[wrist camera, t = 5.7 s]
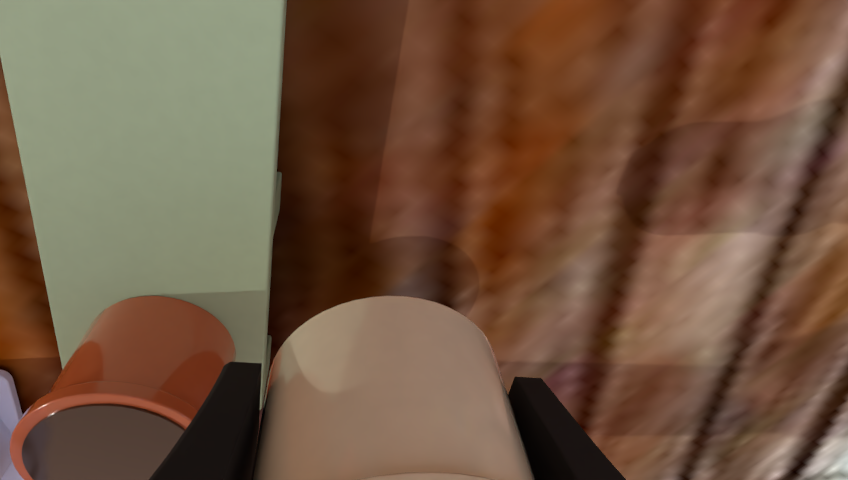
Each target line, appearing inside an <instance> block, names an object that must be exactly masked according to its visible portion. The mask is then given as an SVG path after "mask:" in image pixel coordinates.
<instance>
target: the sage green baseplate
mask: <svg viewBox="0 0 848 480" xmlns="http://www.w3.org/2000/svg"><path fill="white" fill-rule="evenodd" d="M286 5H287V0H0V57H1V62H2V67H3V72H4V77H5V82H6V87H7V92H8V97H9V102H10V107H11V112H12V117H13V122H14V127H15V132H16V138H17V143H18V148H19V153H20V158H21V163H22V168H23V173H24V178H25V183H26V188H27V193H28V198H29V203H30V208H31V213H32V218H33V223H34V228H35V233H36V238H37V243H38V248H39V253H40V258H41V263H42V268H43V273H44V278H45V283H46V288H47V293H48V298H49V303H50V308H51V313H52V319H53V324H54V329H55V334H56V339H57V344H58V349H59V354H60V359H61V364H62V369H64V367H65V365H66V364H67V362H68V361H69V359H70V357H71V356H72V354H73V352H74V351H75V349H76V348H77V346H78V344H79V343H80V341H81V340H82V338H83V336H84V335H85V333H86V332H87V330H88V328H89V327H90V325H91V323H92V322H93V320H94V319H95V318H96V317H97V316H98V314H100V313H101V312H102V311H103V310H104V309H106V308H108V307H109V306H111V305H113V304H115V303H117V302H120V301H122V300H126V299H129V298H134V297H139V296H164V297H171V298H176V299H180V300H183V301H186V302H190V303H192V304H194V305H197V306H199V307H201V308H202V309H204V310H206V311H208V312H209V313H211V314H212V315H213V316H215V317H216V318H217V319H218V320H219V321H220V322H221V323H222V324H223V325H224V326H225V327H226V329H227V330H228V332H229V333H230V335H231V337H232V339H233V341H234V345H235V349H236V361H235V362H247V363H262V370H261V390H260V410H261V408H262V404H263V398H264V392H265V387H266V381H267V375H268V370H269V364H270V353H271V336H270V335H267V332H268V315H269V298H270V281H271V263H272V246H273V235H274V231H275V227H276V223H277V219H278V214H279V210H280V195H281V180H282V173H281V172H277V160H278V143H279V126H280V109H281V91H282V74H283V57H284V40H285V23H286Z"/></svg>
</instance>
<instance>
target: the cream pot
mask: <svg viewBox="0 0 848 480" xmlns="http://www.w3.org/2000/svg"><path fill="white" fill-rule="evenodd" d="M251 480H535V478H534V475H533V472H532V469H531V466H530V463H529V460H528V457H527V453H526V450H525V447H524V444H523V441H522V438H521V435H520V432H519V429H518V425H517V422H516V419H515V416H514V413H513V410H512V407H511V404H510V400H509V397H508V394H507V391H506V388H505V385H504V382H503V379H502V376H501V372H500V369H499V366H498V363H497V360H496V357H495V354H494V351H493V349H492V347H491V345H490V342H489V341H488V339H487V338H486V336H485V335H484V334H483V332H482V331H481V330H480V329H479V328H478V327H477V326H476V325H475V324H474V323H473V322H472V321H470V320H469V319H468V318H466V317H465V316H463V315H462V314H461V313H459V312H457V311H455V310H453V309H451V308H449V307H447V306H444V305H442V304H439V303H437V302H433V301H429V300H425V299H421V298H415V297H408V296H376V297H368V298H362V299H357V300H353V301H349V302H346V303H343V304H339V305H337V306H334V307H332V308H330V309H327V310H325V311H323V312H321V313H319V314H318V315H316V316H314V317H312V318H311V319H309V320H308V321H306V322H305V323H304V324H302V325H301V326H300V327H298V328H297V329H296V330H295V331H294V332H293V333H292V334H291V335H290V336H289V337H288V338H287V340H286V341H285V342H284V343H283V345H282V346H281V347H280V349H279V351H278V352H277V354H276V356H275V358H274V360H273V363H272V366H271V369H270V373H269V378H268V384H267V390H266V395H265V401H264V407H263V413H262V418H261V424H260V430H259V435H258V441H257V447H256V453H255V458H254V464H253V470H252V475H251Z"/></svg>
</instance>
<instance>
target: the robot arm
mask: <svg viewBox="0 0 848 480" xmlns="http://www.w3.org/2000/svg"><path fill="white" fill-rule="evenodd" d="M261 370H262V363H247V362H229V363H227V364H226V365H224V367H223V369H222V371H221V373H220V375H219V377H218V379H217V380H216V382H215V384H214V386H213V388H212V389H211V391H210V393H209V394H208V396H207V398H206V399H205V401H204V403H203V404H202V406H201V407H200V409H199V410H198V412H197V414H196V415H195V417H194V418H193V420H192V421H191V423H190V424H189V425H188V427H187V428H186V430H185V431H184V433H183V434H182V435H181V437H180V438H179V440H178V441H177V443H176V444H175V445H174V447H173V448H172V450H171V451H170V453H169V454H168V455H167V457H166V458H165V459H164V461H163V462H162V463H161V464H160V466H159V467H158V468H157V470H156V471H155V472H154V473H153V475H152V476H151V477H150V479H149V480H251V475H252V470H253V464H254V458H255V452H256V445H257V438H258V431H259V410H260V390H261ZM508 397H509V400H510V404H511V407H512V410H513V413H514V416H515V419H516V422H517V425H518V429H519V432H520V435H521V438H522V441H523V444H524V447H525V450H526V453H527V457H528V460H529V463H530V466H531V469H532V472H533V475H534V478H535V480H626V479H625V478H624V477H623V476H622V475H621V473H620V472H619V471H618V470H617V469H616V468H615V467H614V466H613V465H612V463H611V462H610V461H609V460H608V459H607V458H606V456H605V455H604V454H603V453H602V452H601V451H600V449H599V448H598V447H597V446H596V445H595V444H594V442H593V441H592V440H591V439H590V438H589V436H588V435H587V434H586V433H585V432H584V430H583V429H582V428H581V427H580V425H579V424H578V423H577V422H576V421H575V419H574V418H573V417H572V416H571V414H570V413H569V412H568V411H567V409H566V408H565V407H564V406H563V405H562V403H561V402H560V401H559V400H558V398H557V397H556V396H555V395H554V393H553V392H552V391H551V390H550V388H549V387H548V386H547V385H546V384H545V382H544V381H543V380H542V379H541V378H526V377H515V378H514V381H513V383H512V386H511V389H510V391H509V394H508ZM22 416H23V414H22V411H21V407H20V403H19V399H18V395H17V392H16V388H15V384H14V380H13V377H12V376H11V374H10V373H8V372H7V371H5V370H2V369H0V480H24V479H23V478H22V477H21V476H20V475H19V473H18V472H17V470H16V469H15V467H14V465H13V462H12V460H11V456H10V439H11V435H12V432H13V430H14V429H15V427H16V425H17V423H18V422H19V420H20V419H21V417H22Z"/></svg>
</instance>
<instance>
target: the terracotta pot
mask: <svg viewBox="0 0 848 480" xmlns="http://www.w3.org/2000/svg"><path fill="white" fill-rule="evenodd" d="M235 361H236V349H235V345H234V341H233V339H232V337H231V335H230V333H229V332H228V330H227V329H226V327H225V326H224V325H223V324H222V323H221V322H220V321H219V320H218V319H217V318H216V317H215V316H213V315H212V314H211V313H209V312H208V311H206V310H204V309H202V308H201V307H199V306H197V305H194V304H192V303H190V302H186V301H183V300H180V299H176V298H171V297H164V296H139V297H134V298H129V299H126V300H122V301H120V302H117V303H115V304H113V305H111V306H109V307H108V308H106V309H104V310H103V311H102V312H101V313H100V314H98V316H97V317H96V318H95V319H94V320H93V322H92V323H91V325H90V327H89V328H88V330H87V332H86V333H85V335H84V336H83V338H82V340H81V341H80V343H79V344H78V346H77V348H76V349H75V351H74V352H73V354H72V356H71V357H70V359H69V361H68V362H67V364H66V365H65V367H64V369H63V370H62V372H61V373H60V375H59V377H58V378H57V380H56V381H55V383H54V385H53V386H52V388H51V390H50V391H49V393H48V394H47V395H45V396H43V397H42V398H40V399H38V400H37V401H36V402H35V403H33V404H32V405H31V406H30V407H29V408H28V409H27V410H26V412H25V413H24V414H23V416H22V417H21V419H20V420H19V422H18V423H17V425H16V427H15V429H14V430H13V432H12V435H11V439H10V456H11V460H12V462H13V465H14V467H15V469H16V470H17V472H18V473H19V475H20V476H21V477H22V478H23V479H24V480H149V479H150V477H151V476H152V475H153V473H154V472H155V471H156V470H157V468H158V467H159V466H160V464H161V463H162V462H163V461H164V459H165V458H166V457H167V455H168V454H169V453H170V451H171V450H172V448H173V447H174V445H175V444H176V443H177V441H178V440H179V438H180V437H181V435H182V434H183V433H184V431H185V430H186V428H187V427H188V425H189V424H190V423H191V421H192V420H193V418H194V417H195V415H196V414H197V412H198V410H199V409H200V407H201V406H202V404H203V403H204V401H205V399H206V398H207V396H208V394H209V393H210V391H211V389H212V388H213V386H214V384H215V382H216V380H217V379H218V377H219V375H220V373H221V371H222V369H223V367H224V365H226V364H227V363H229V362H235Z"/></svg>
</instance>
